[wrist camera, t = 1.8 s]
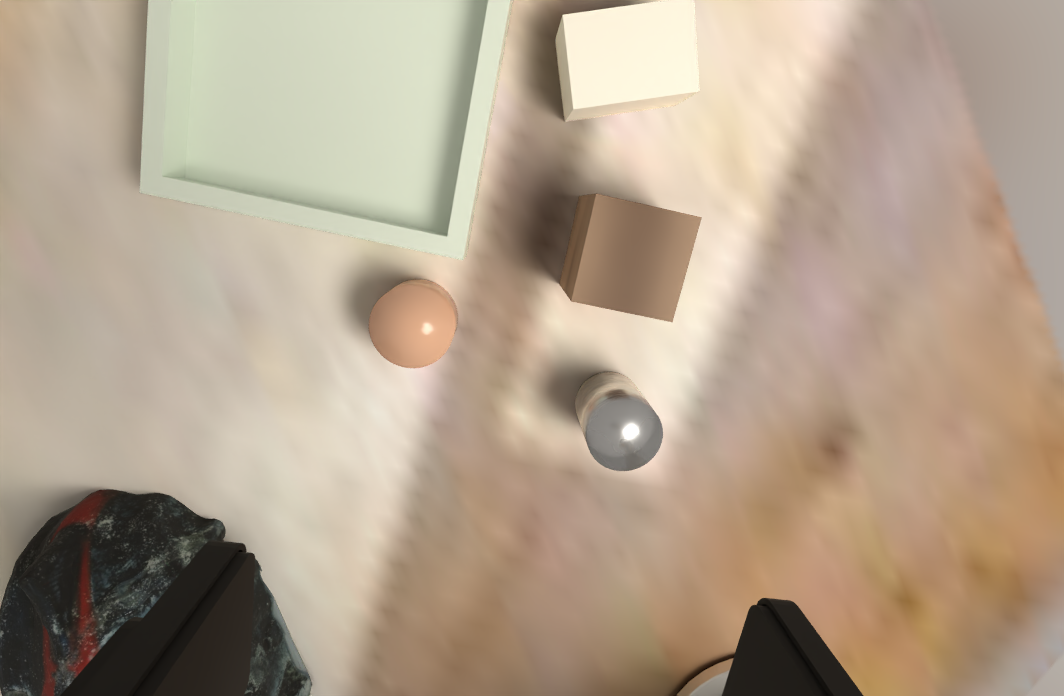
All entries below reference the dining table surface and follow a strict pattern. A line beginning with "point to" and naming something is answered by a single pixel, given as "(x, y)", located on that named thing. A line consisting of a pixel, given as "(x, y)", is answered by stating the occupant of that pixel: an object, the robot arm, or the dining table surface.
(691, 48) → the cream block
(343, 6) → the tray
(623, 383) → the grey cylinder
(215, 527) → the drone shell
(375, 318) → the peach rounded capsule
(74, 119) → the dining table surface
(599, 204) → the walnut block
